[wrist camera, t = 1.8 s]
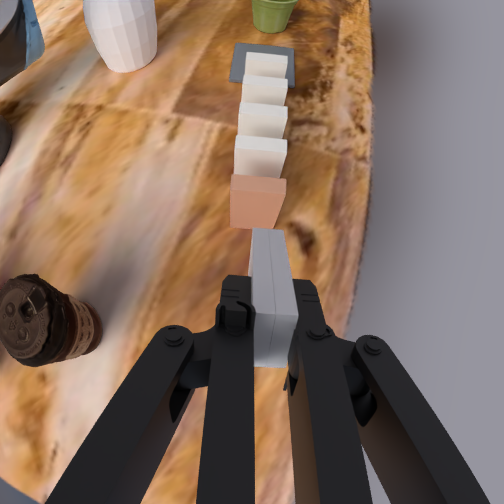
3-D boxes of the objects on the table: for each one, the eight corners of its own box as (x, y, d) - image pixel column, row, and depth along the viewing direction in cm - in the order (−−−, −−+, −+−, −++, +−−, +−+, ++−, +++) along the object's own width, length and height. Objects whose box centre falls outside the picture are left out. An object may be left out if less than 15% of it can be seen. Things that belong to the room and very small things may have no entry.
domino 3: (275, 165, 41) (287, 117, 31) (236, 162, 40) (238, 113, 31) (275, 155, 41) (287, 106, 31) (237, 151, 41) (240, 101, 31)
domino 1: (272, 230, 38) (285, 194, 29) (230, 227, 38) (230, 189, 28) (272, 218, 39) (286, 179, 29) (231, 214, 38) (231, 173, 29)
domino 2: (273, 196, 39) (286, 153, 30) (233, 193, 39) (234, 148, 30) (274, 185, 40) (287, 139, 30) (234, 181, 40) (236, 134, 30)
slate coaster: (293, 88, 45) (294, 85, 44) (229, 81, 44) (229, 79, 44) (293, 50, 47) (293, 48, 47) (235, 45, 47) (235, 42, 46)
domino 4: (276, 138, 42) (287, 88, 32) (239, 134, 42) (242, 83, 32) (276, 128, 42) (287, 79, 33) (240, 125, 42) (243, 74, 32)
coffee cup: (113, 293, 35) (60, 268, 22) (115, 364, 33) (60, 372, 20) (53, 293, 34) (-11, 270, 22) (53, 359, 32) (-13, 361, 20)
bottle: (90, 70, 44) (47, -44, 20) (131, 35, 47) (107, -74, 23) (133, 85, 43) (95, -50, 19) (176, 47, 46) (161, -78, 22)
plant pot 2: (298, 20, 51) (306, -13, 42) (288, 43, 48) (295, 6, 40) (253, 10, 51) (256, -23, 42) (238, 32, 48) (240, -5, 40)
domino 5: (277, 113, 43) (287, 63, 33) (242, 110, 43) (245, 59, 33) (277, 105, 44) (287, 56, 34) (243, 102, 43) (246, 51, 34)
